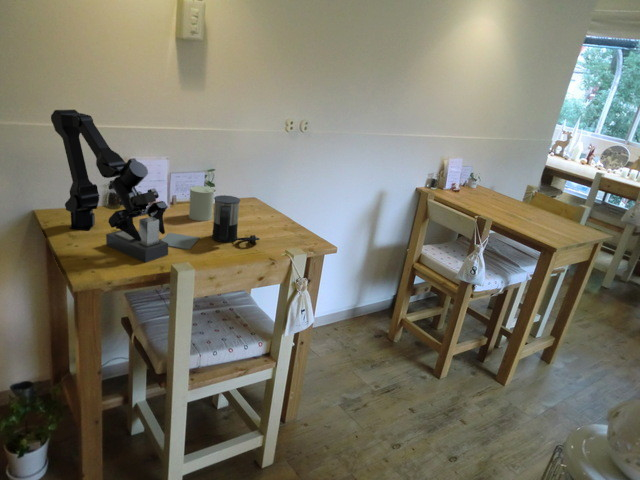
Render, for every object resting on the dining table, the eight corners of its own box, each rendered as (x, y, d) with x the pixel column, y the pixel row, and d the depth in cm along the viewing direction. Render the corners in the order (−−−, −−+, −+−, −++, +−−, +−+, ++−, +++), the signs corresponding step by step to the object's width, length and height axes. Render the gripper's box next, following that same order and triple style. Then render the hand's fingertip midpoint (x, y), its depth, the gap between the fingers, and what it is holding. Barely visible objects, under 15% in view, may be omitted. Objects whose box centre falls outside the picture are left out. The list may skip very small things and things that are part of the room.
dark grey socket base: (106, 245, 156) (106, 232, 154) (129, 238, 164) (129, 226, 162) (145, 262, 148) (145, 248, 147) (168, 254, 156) (168, 241, 154)
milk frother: (209, 233, 178) (211, 194, 173) (251, 232, 184) (254, 195, 179) (217, 248, 166) (219, 207, 161) (261, 247, 172) (265, 207, 167)
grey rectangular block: (139, 249, 152) (139, 219, 148) (150, 246, 155) (151, 216, 152) (147, 253, 150) (147, 222, 147) (158, 249, 154) (159, 219, 150)
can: (200, 222, 187) (202, 192, 183) (183, 216, 191) (184, 186, 187) (217, 218, 194) (219, 189, 190) (200, 211, 199) (202, 183, 194)
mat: (156, 244, 162) (156, 243, 162) (169, 233, 172) (169, 232, 172) (189, 249, 162) (189, 248, 162) (199, 238, 172) (199, 237, 172)
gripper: (114, 185, 139) (140, 231, 138) (164, 176, 155) (188, 218, 154) (96, 204, 145) (122, 249, 145) (146, 194, 161) (170, 234, 160)
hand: (152, 237), depth 151 cm, fingers open, 9 cm apart
